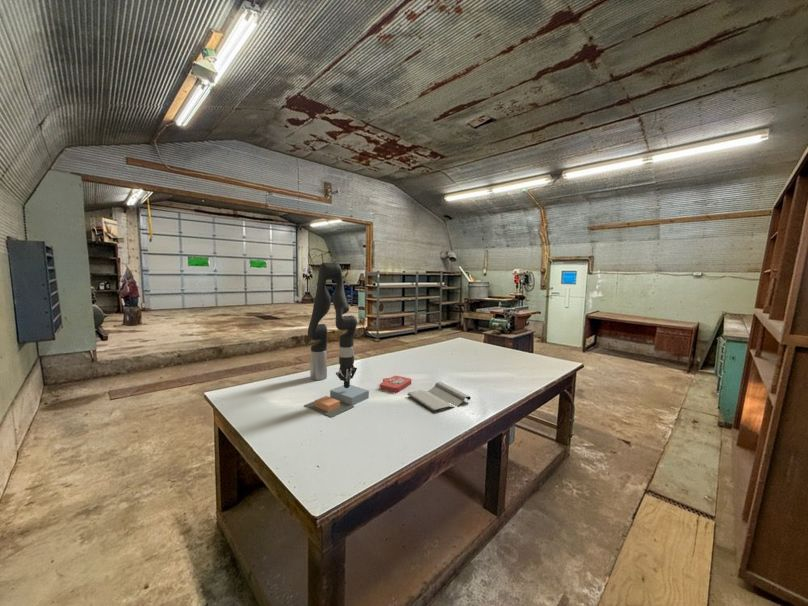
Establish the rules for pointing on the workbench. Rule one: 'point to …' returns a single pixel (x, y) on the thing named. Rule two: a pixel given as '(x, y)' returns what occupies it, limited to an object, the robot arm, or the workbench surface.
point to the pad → (334, 412)
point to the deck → (349, 394)
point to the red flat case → (395, 384)
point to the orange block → (327, 403)
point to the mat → (439, 397)
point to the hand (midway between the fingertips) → (346, 387)
